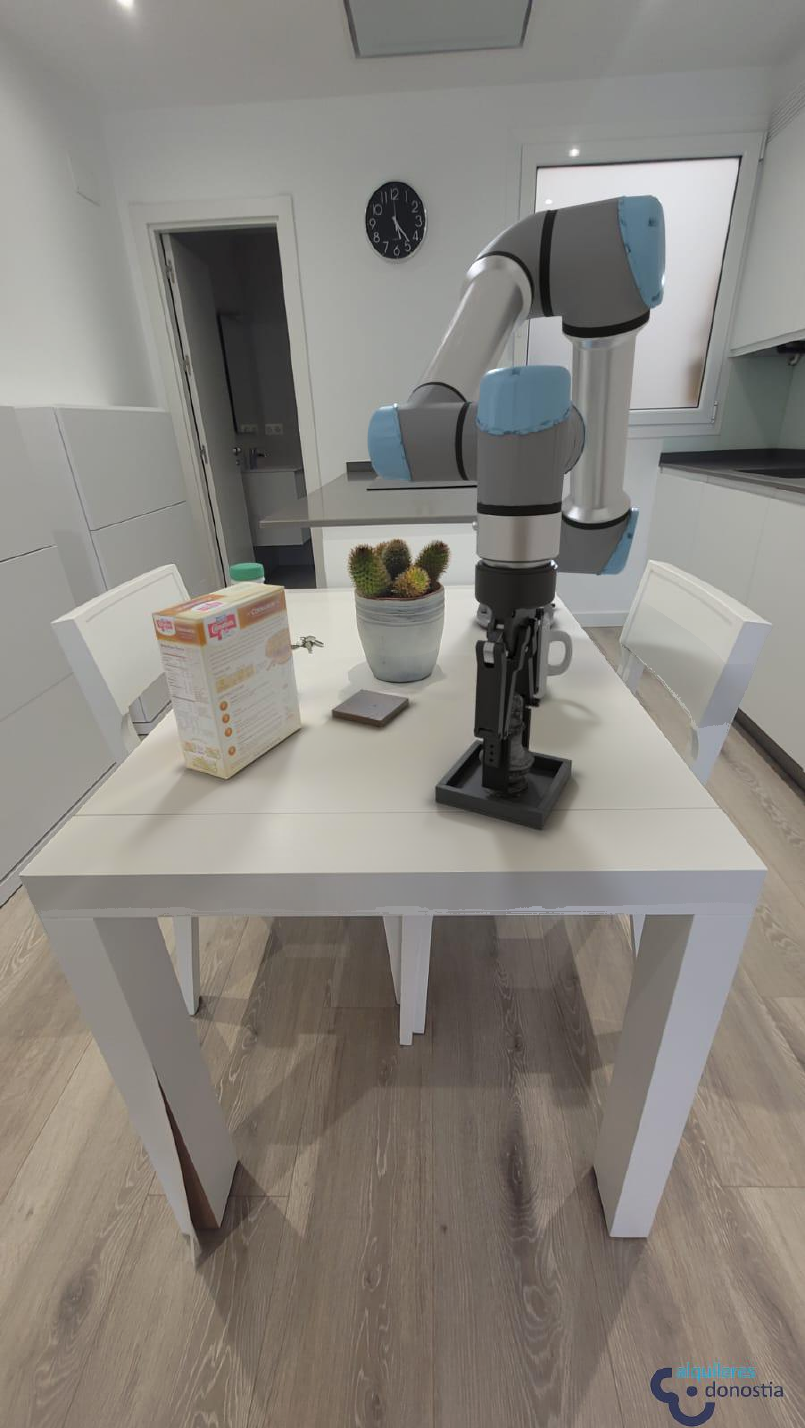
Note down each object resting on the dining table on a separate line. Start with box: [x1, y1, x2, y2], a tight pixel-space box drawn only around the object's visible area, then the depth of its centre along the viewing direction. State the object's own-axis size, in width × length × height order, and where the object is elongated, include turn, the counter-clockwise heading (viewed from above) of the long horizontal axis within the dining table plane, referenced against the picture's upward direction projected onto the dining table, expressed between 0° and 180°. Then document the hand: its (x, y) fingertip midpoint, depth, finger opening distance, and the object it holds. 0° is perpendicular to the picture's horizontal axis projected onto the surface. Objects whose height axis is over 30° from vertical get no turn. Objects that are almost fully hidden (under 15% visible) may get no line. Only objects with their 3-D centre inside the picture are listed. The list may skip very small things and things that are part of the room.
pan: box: [434, 739, 573, 831], centre depth 65 cm, size 12×12×2 cm
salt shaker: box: [479, 692, 534, 798], centre depth 63 cm, size 6×6×12 cm
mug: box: [534, 617, 573, 699], centre depth 87 cm, size 12×8×11 cm
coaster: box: [331, 688, 410, 728], centre depth 85 cm, size 8×8×1 cm
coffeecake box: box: [150, 582, 303, 780], centre depth 72 cm, size 15×7×20 cm, turn 152°
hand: (505, 773), depth 65 cm, fingers closed on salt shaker, 6 cm apart
